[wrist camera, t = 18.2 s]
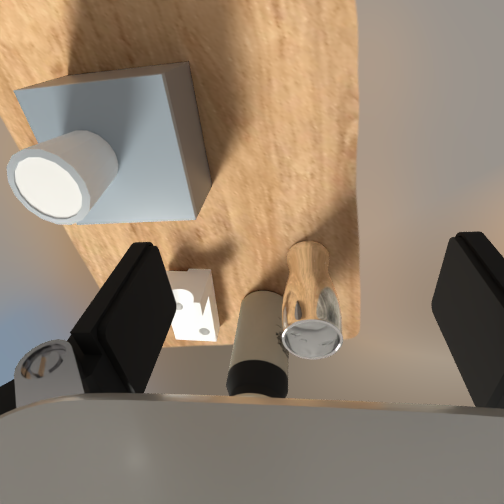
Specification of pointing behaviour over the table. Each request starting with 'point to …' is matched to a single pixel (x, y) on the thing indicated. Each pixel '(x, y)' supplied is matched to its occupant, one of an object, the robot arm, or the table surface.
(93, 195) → the white cup
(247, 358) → the travel mug
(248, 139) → the table surface
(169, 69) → the storage box
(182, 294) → the bracket
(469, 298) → the robot arm
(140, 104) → the lid
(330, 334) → the silver metal tumbler
